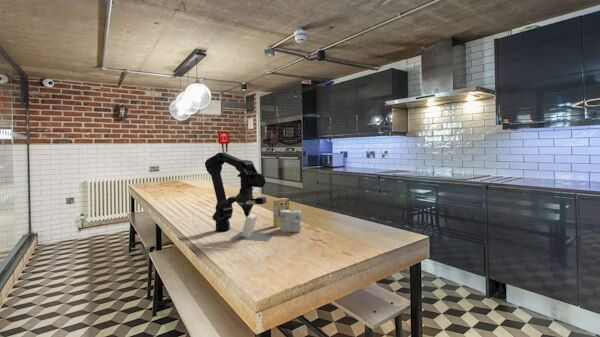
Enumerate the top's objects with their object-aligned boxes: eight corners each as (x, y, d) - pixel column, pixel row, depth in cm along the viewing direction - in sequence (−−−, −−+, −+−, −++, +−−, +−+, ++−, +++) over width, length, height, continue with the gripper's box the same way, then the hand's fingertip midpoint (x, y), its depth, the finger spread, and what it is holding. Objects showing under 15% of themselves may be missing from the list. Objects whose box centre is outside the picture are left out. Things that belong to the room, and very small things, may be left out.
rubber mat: (229, 239, 157) (229, 239, 157) (241, 232, 171) (241, 231, 170) (267, 242, 153) (267, 241, 153) (276, 234, 167) (275, 233, 166)
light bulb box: (301, 229, 176) (301, 209, 175) (300, 232, 169) (300, 212, 168) (282, 229, 177) (281, 209, 176) (280, 232, 170) (279, 211, 170)
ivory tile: (241, 235, 159) (246, 216, 158) (246, 231, 166) (251, 213, 165) (247, 237, 159) (252, 218, 157) (252, 234, 166) (257, 215, 164)
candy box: (284, 223, 188) (283, 197, 187) (289, 225, 186) (289, 198, 184) (273, 226, 182) (272, 199, 181) (278, 228, 179) (278, 200, 178)
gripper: (221, 188, 155) (222, 220, 156) (258, 188, 151) (259, 221, 152) (231, 185, 166) (232, 215, 167) (266, 185, 162) (267, 216, 163)
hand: (247, 217), depth 162 cm, fingers closed
